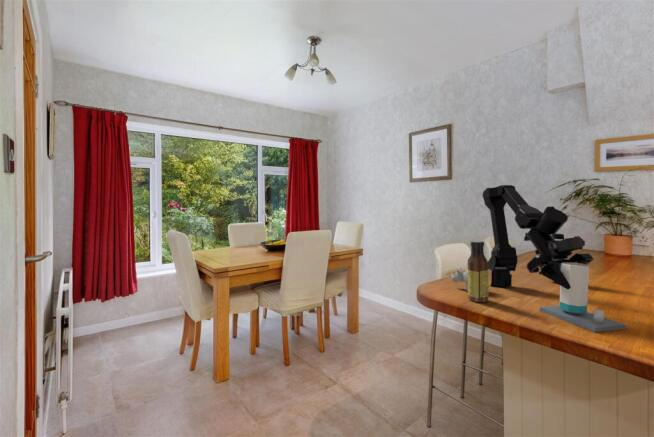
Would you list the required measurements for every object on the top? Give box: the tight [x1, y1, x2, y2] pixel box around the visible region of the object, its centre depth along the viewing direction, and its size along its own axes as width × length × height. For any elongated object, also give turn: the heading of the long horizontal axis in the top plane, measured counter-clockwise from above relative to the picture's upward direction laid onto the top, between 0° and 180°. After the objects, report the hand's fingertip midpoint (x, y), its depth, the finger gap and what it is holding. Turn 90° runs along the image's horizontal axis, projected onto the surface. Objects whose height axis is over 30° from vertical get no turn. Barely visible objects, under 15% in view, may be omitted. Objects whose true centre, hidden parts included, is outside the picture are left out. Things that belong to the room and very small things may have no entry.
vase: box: [559, 262, 590, 313], centre depth 90 cm, size 6×6×13 cm
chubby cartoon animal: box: [450, 268, 468, 292], centre depth 118 cm, size 7×12×8 cm, turn 48°
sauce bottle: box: [467, 240, 489, 303], centre depth 105 cm, size 7×6×20 cm
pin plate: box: [539, 305, 627, 333], centre depth 88 cm, size 16×10×4 cm, turn 12°
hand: (578, 288), depth 88 cm, fingers closed on vase, 6 cm apart
